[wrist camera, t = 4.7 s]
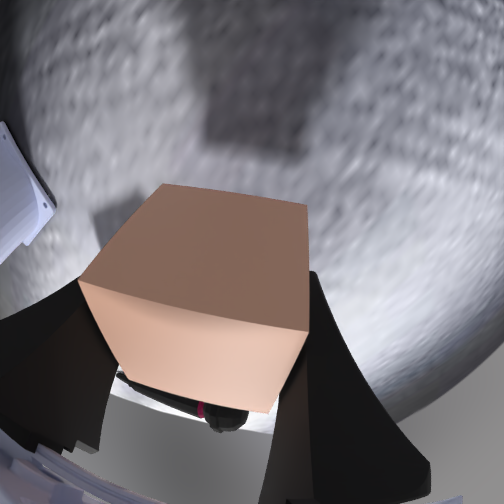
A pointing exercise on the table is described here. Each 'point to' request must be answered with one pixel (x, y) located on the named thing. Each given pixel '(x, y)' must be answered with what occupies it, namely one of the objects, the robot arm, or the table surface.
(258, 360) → the peach block
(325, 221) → the table surface
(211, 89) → the table surface
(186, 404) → the microphone
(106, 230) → the table surface
